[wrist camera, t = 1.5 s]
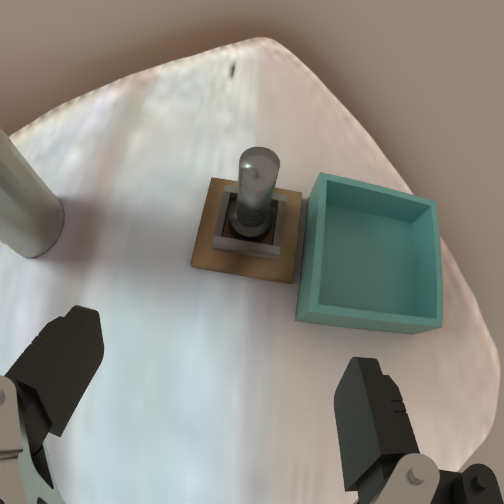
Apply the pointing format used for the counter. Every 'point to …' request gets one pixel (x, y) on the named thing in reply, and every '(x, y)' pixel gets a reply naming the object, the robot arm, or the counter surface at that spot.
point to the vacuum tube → (254, 195)
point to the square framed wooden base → (245, 252)
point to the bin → (370, 259)
